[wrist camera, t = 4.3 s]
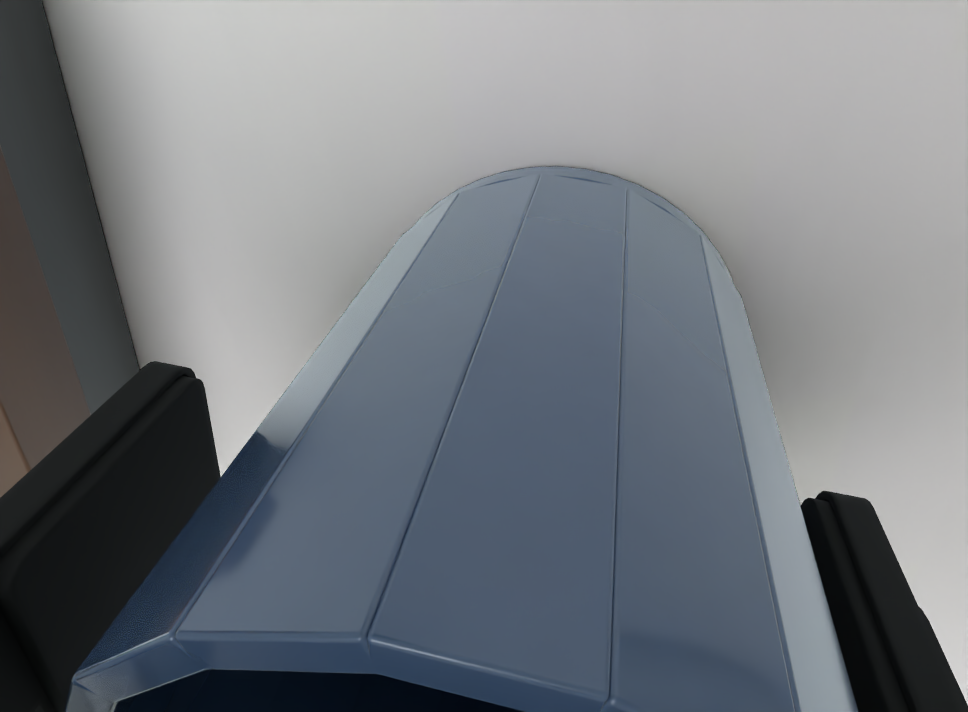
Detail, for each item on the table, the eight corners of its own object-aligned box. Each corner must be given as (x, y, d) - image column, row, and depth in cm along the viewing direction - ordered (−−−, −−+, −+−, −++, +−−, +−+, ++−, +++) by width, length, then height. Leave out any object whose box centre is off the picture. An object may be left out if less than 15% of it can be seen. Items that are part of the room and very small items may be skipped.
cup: (801, 203, 11) (1180, 842, 3) (681, 499, 15) (724, 1070, 7) (383, 134, 11) (-83, 528, 4) (381, 435, 15) (151, 898, 8)
